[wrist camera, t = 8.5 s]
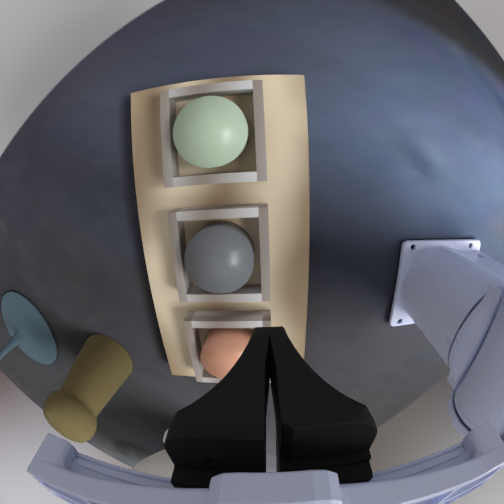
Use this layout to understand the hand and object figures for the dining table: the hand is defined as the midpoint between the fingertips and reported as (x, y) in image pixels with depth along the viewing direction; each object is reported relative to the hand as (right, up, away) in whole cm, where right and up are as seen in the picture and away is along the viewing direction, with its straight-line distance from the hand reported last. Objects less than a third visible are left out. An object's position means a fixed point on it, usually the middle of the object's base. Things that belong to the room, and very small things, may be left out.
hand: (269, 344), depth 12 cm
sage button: (-3, +12, +4) cm, 13 cm away
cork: (-16, -7, +13) cm, 22 cm away
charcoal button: (-3, +4, +7) cm, 8 cm away
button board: (-3, +5, +8) cm, 10 cm away
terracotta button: (-2, -3, +9) cm, 10 cm away
